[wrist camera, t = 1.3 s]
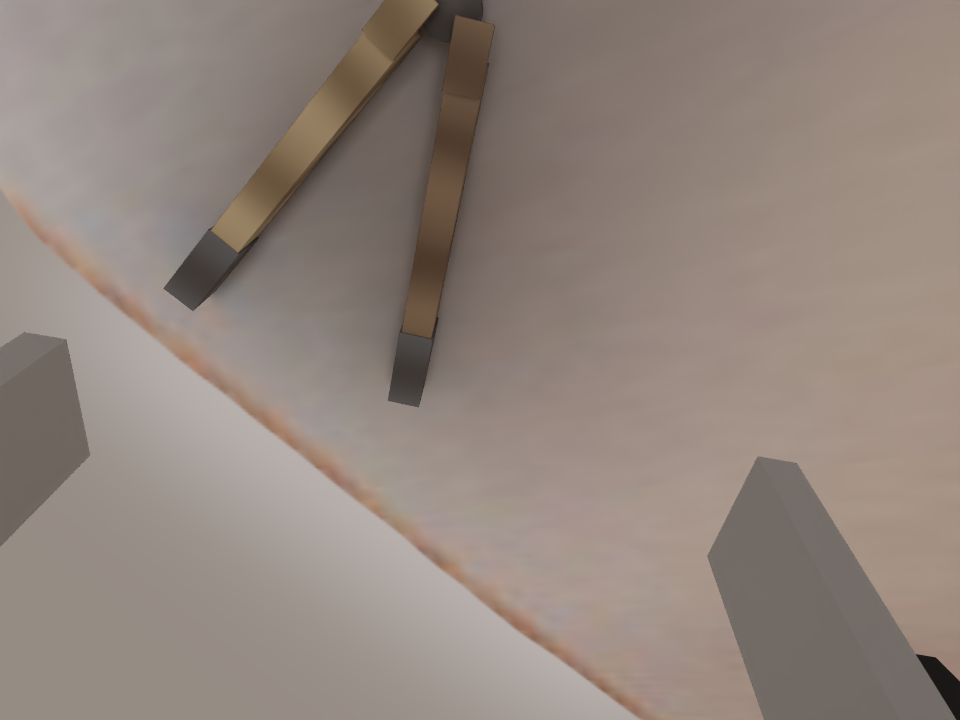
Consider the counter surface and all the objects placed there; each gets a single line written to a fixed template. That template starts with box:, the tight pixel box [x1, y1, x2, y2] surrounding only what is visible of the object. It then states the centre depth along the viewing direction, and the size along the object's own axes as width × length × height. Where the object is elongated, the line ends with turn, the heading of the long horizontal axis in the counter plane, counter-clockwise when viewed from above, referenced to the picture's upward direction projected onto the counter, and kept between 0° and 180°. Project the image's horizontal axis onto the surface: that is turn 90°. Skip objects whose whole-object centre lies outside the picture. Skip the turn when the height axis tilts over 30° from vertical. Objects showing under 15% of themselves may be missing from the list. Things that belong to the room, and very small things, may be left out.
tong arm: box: [163, 0, 440, 311], centre depth 32 cm, size 22×2×4 cm, turn 135°
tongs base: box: [388, 0, 495, 407], centre depth 34 cm, size 23×4×4 cm, turn 167°
